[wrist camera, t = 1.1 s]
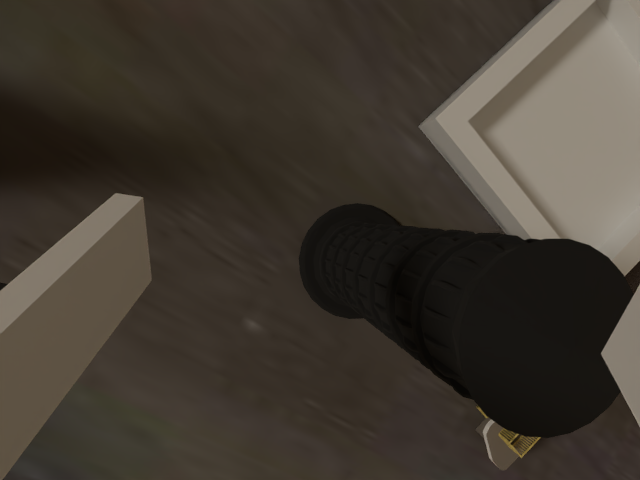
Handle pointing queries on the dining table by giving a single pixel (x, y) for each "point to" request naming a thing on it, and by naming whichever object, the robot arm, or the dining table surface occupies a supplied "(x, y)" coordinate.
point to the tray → (555, 129)
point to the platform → (503, 443)
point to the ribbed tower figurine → (479, 311)
